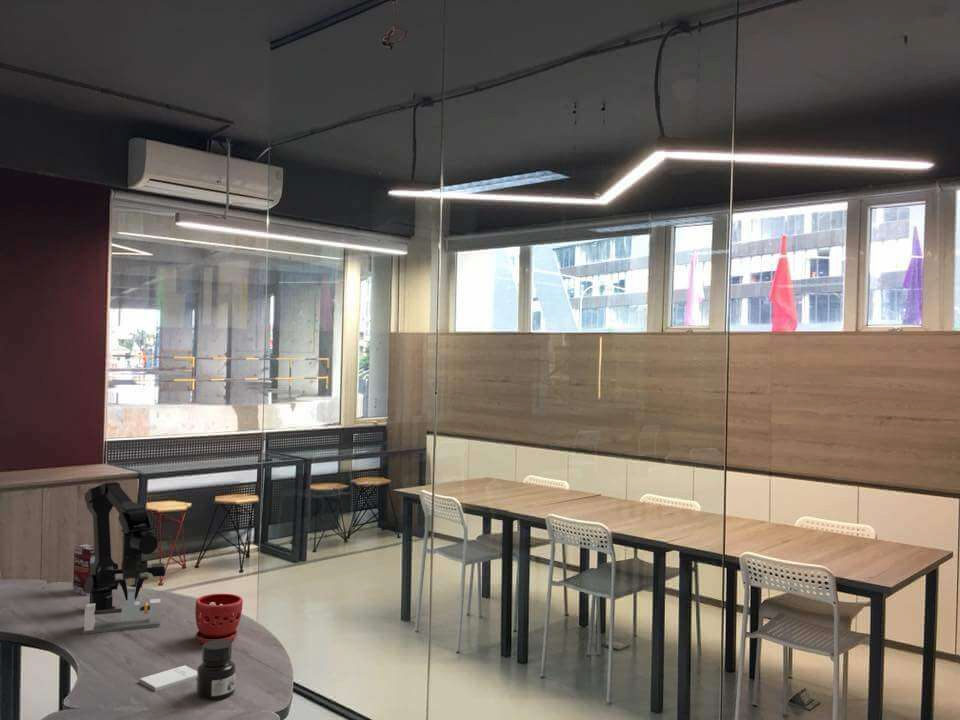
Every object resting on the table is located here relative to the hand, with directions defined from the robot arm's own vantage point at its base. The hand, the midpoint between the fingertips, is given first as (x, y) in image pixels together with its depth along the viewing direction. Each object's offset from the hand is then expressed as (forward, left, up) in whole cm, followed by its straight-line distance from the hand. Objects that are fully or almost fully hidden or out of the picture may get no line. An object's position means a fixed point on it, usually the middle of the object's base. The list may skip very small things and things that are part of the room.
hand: (131, 599), depth 236 cm
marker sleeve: (0, 0, -5) cm, 5 cm away
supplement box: (-40, +19, -8) cm, 46 cm away
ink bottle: (+57, -28, -8) cm, 63 cm away
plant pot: (+32, +2, -8) cm, 33 cm away
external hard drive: (+40, -26, -9) cm, 49 cm away
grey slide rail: (-1, -2, -8) cm, 8 cm away
